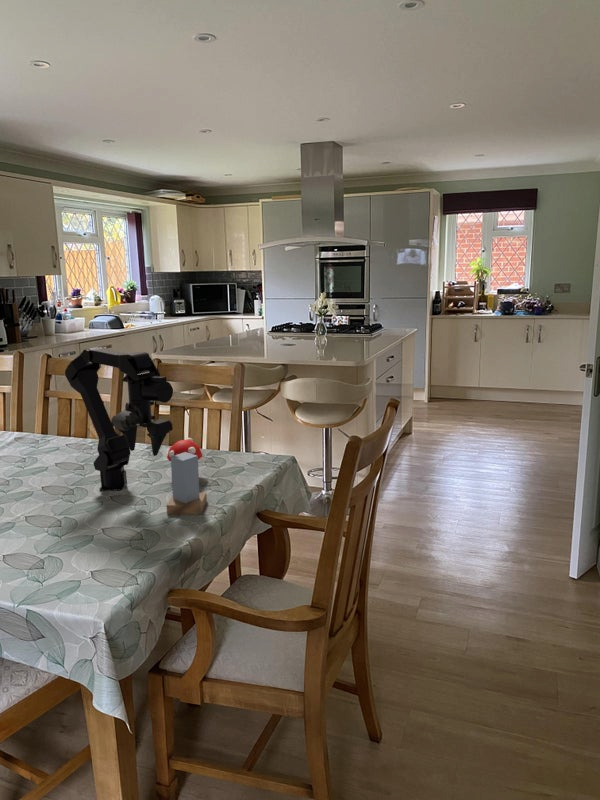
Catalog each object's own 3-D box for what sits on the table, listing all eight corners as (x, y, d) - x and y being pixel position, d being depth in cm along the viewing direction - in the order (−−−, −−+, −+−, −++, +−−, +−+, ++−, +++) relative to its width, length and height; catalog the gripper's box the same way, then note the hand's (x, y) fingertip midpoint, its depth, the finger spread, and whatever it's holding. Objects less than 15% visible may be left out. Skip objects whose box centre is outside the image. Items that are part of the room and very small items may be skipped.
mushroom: (188, 485, 178) (186, 446, 176) (160, 479, 183) (158, 442, 181) (210, 474, 187) (208, 437, 185) (183, 469, 192) (181, 433, 190)
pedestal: (167, 516, 158) (166, 505, 157) (174, 502, 166) (174, 492, 166) (201, 515, 157) (200, 505, 157) (206, 502, 166) (206, 492, 166)
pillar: (172, 498, 161) (170, 456, 158) (187, 493, 165) (185, 452, 162) (185, 503, 158) (183, 460, 155) (199, 497, 162) (197, 455, 159)
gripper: (93, 400, 162) (98, 455, 165) (140, 408, 152) (145, 466, 155) (125, 393, 171) (129, 445, 174) (172, 400, 161) (175, 455, 164)
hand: (143, 453), depth 167 cm, fingers open, 9 cm apart
